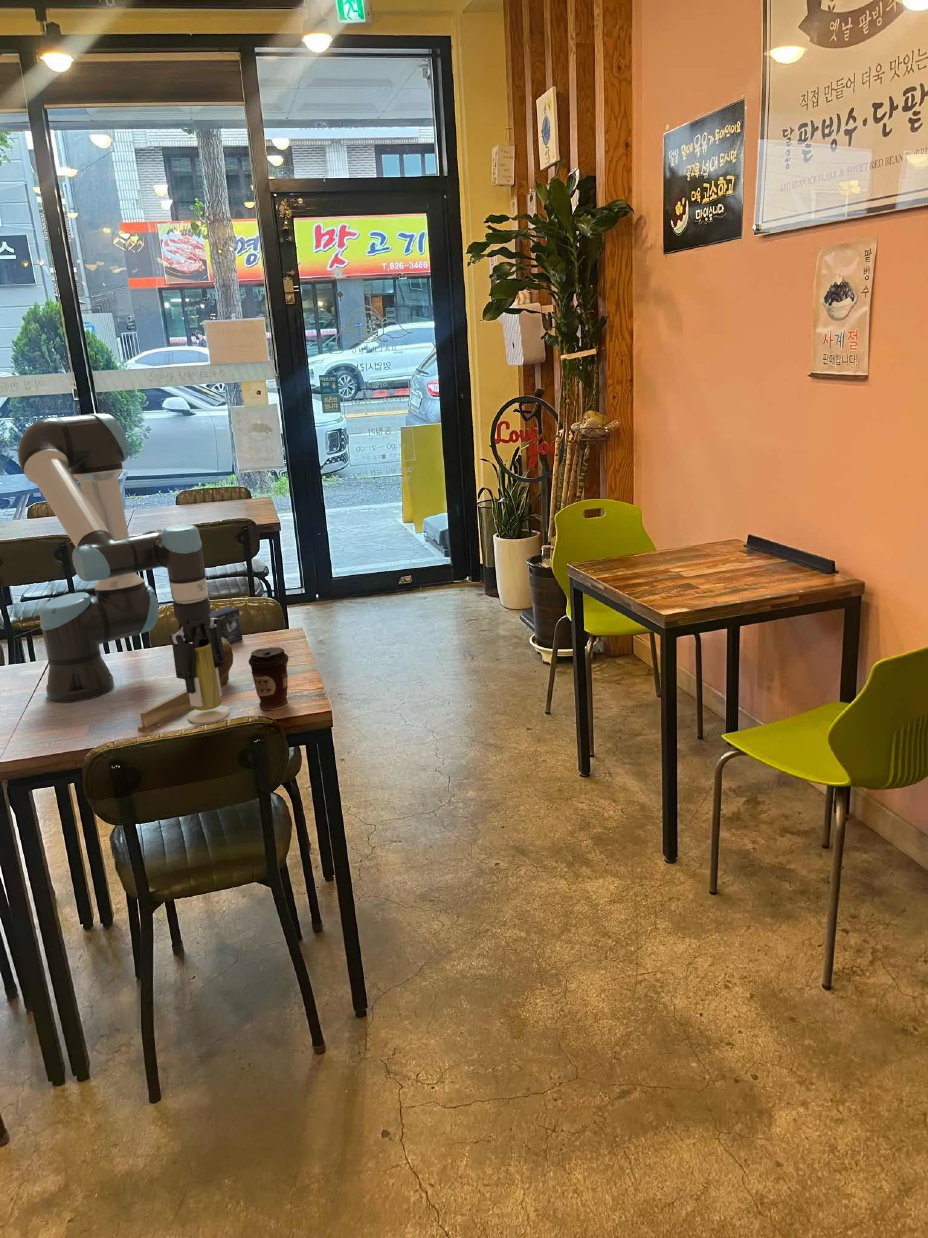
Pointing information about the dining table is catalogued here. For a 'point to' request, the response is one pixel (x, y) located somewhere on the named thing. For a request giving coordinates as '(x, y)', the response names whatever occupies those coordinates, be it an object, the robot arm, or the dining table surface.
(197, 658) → the vase
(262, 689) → the coffee cup
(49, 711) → the dining table surface
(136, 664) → the dining table surface
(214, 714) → the coaster
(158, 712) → the divider
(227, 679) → the shell
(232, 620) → the box
